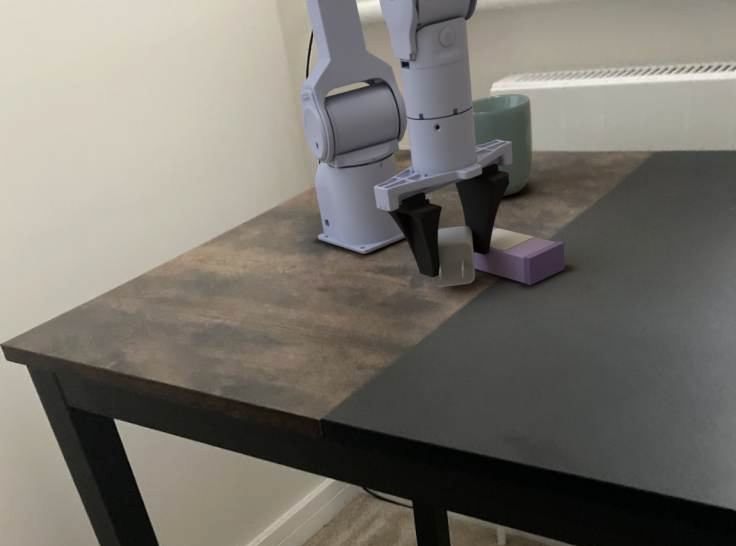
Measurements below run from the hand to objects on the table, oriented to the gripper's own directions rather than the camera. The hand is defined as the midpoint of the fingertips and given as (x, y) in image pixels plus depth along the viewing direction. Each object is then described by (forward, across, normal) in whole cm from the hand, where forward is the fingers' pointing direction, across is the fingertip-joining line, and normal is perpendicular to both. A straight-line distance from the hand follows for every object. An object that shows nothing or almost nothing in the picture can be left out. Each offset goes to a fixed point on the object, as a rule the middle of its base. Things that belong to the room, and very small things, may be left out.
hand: (454, 263), depth 85 cm
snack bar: (+2, +6, 0) cm, 6 cm away
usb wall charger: (+2, -1, -1) cm, 2 cm away
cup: (+2, +22, +17) cm, 28 cm away
